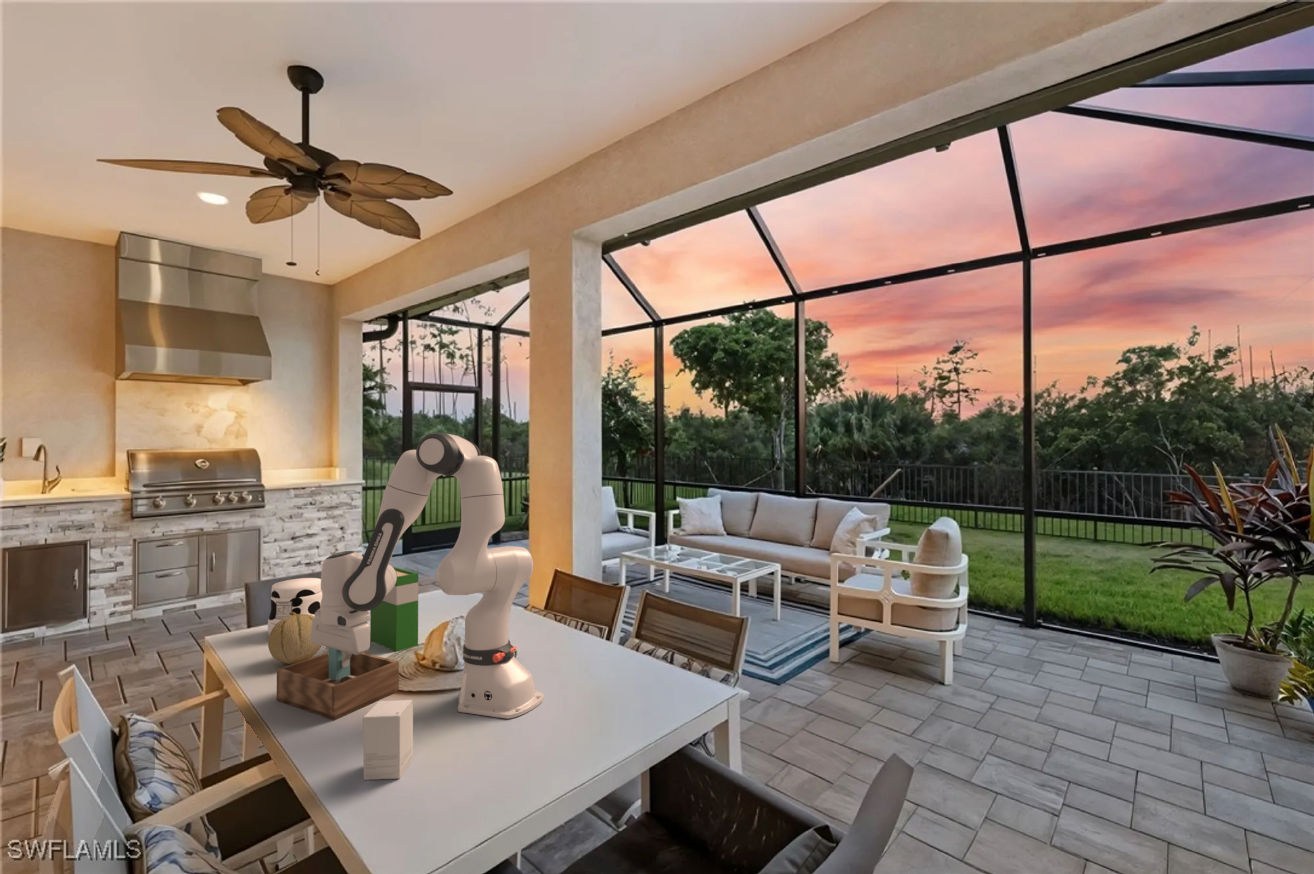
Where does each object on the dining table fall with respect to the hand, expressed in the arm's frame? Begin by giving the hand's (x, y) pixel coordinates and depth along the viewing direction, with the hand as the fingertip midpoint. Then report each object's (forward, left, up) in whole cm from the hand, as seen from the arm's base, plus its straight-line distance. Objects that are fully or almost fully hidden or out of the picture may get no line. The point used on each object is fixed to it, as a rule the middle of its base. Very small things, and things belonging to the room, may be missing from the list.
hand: (339, 664), depth 150 cm
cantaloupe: (+34, -9, -8) cm, 36 cm away
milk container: (+61, -25, -8) cm, 66 cm away
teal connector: (0, 0, -3) cm, 3 cm away
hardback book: (+22, -34, -8) cm, 41 cm away
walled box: (0, 0, -8) cm, 8 cm away
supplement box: (-42, +17, -8) cm, 46 cm away
